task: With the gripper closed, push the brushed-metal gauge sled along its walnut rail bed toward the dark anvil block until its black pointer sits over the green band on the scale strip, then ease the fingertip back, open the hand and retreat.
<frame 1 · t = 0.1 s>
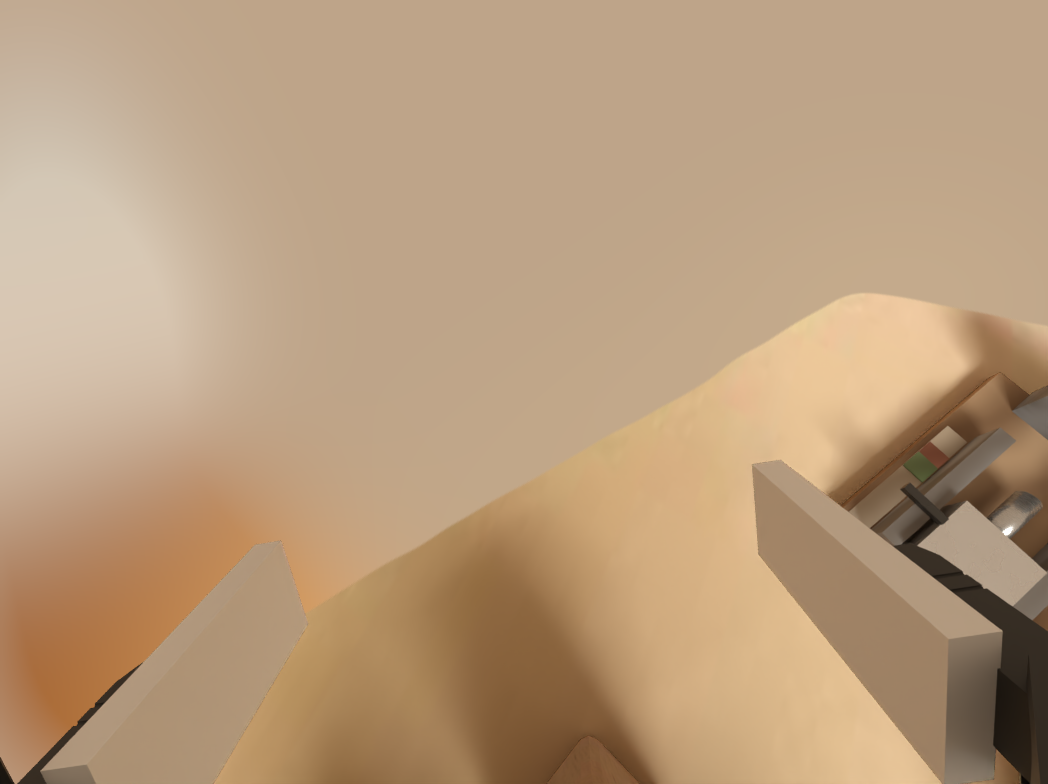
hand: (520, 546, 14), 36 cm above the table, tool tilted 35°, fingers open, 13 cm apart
gauge sled: (965, 522, 42), point 4 cm above the table, slide at 0.0 cm
gauge bed: (979, 521, 46), on the table
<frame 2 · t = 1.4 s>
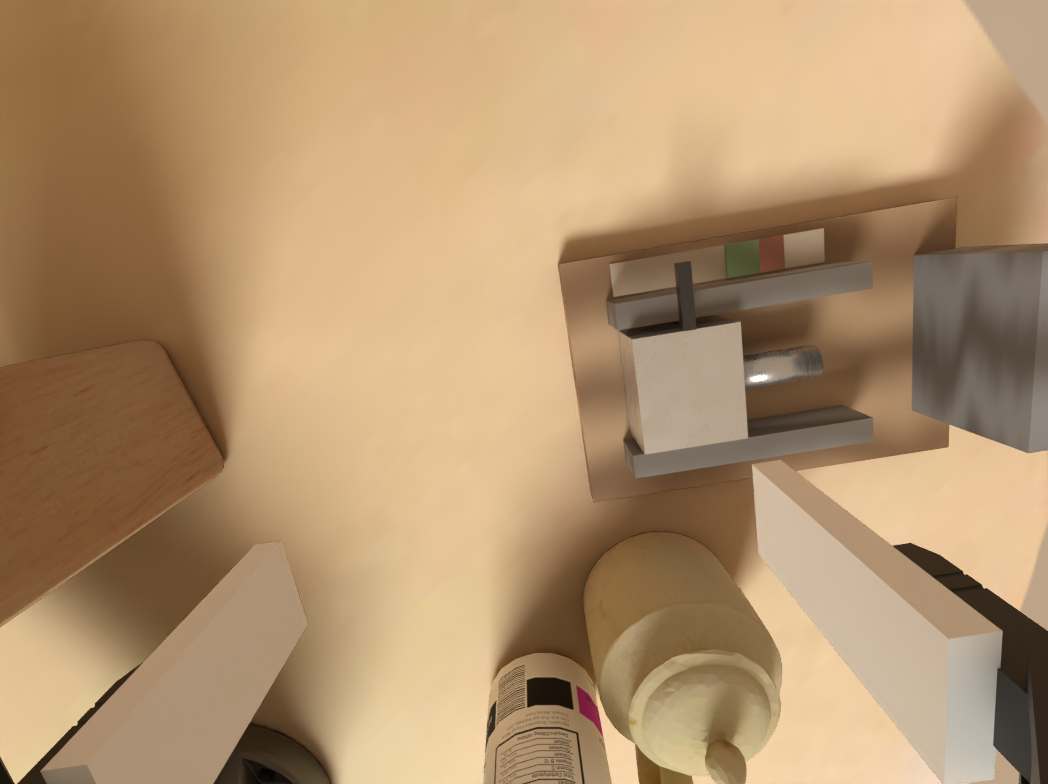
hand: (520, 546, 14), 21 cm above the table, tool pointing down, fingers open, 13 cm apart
gauge sled: (722, 346, 30), point 4 cm above the table, slide at 0.0 cm
block: (137, 426, 35), on the table
supplement can: (541, 688, 41), on the table
gauge bed: (752, 355, 35), on the table
sugar bowl: (661, 614, 39), on the table
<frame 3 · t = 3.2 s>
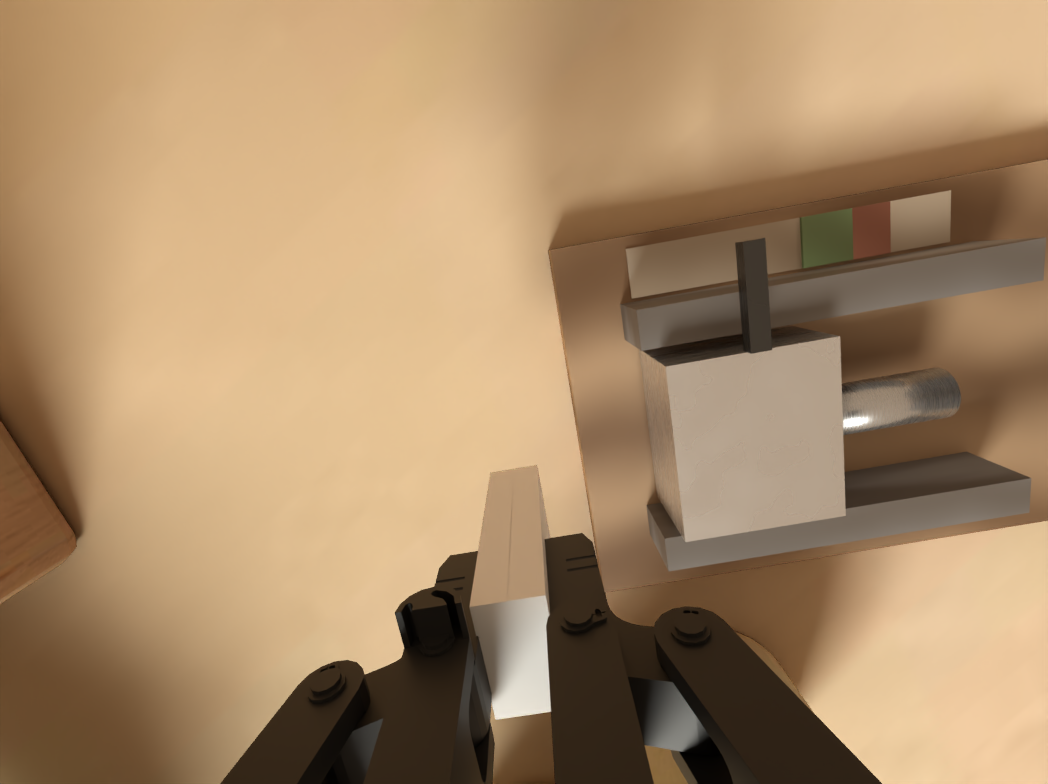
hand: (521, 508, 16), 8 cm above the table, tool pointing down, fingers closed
gauge sled: (801, 372, 20), point 4 cm above the table, slide at 0.0 cm
gauge bed: (832, 381, 24), on the table
sugar bowl: (697, 732, 29), on the table
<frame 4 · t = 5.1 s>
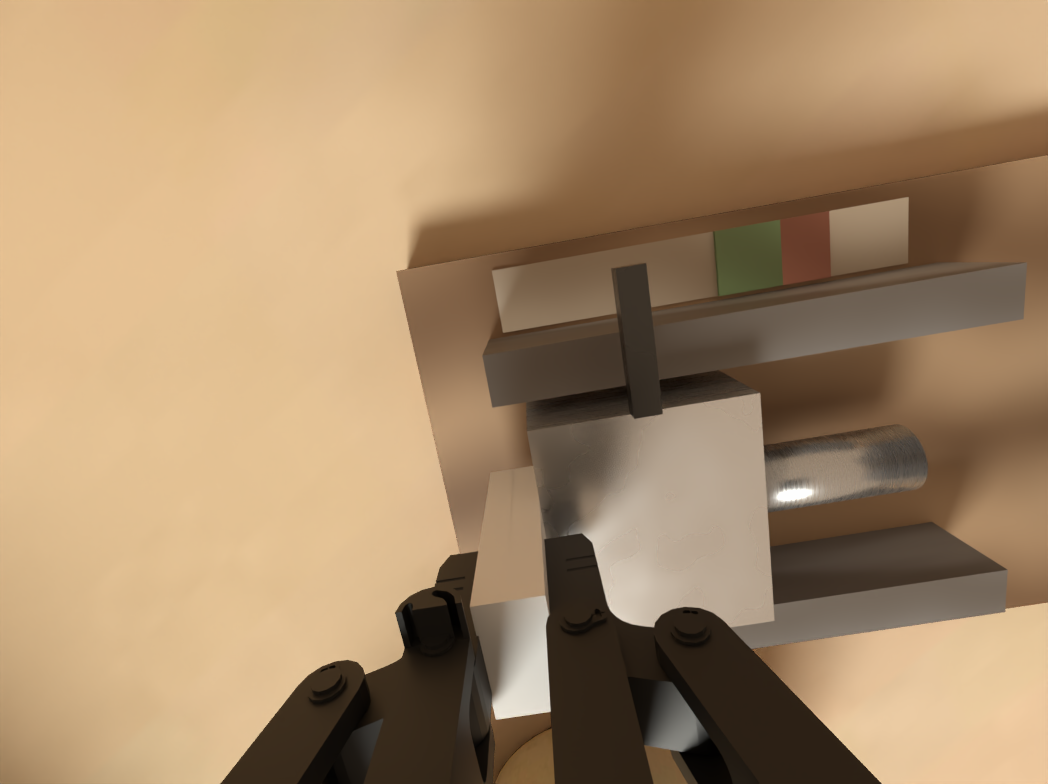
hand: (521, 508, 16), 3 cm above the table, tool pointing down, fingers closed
gauge sled: (720, 432, 15), point 4 cm above the table, slide at 0.4 cm, touching gripper
gauge bed: (767, 431, 19), on the table
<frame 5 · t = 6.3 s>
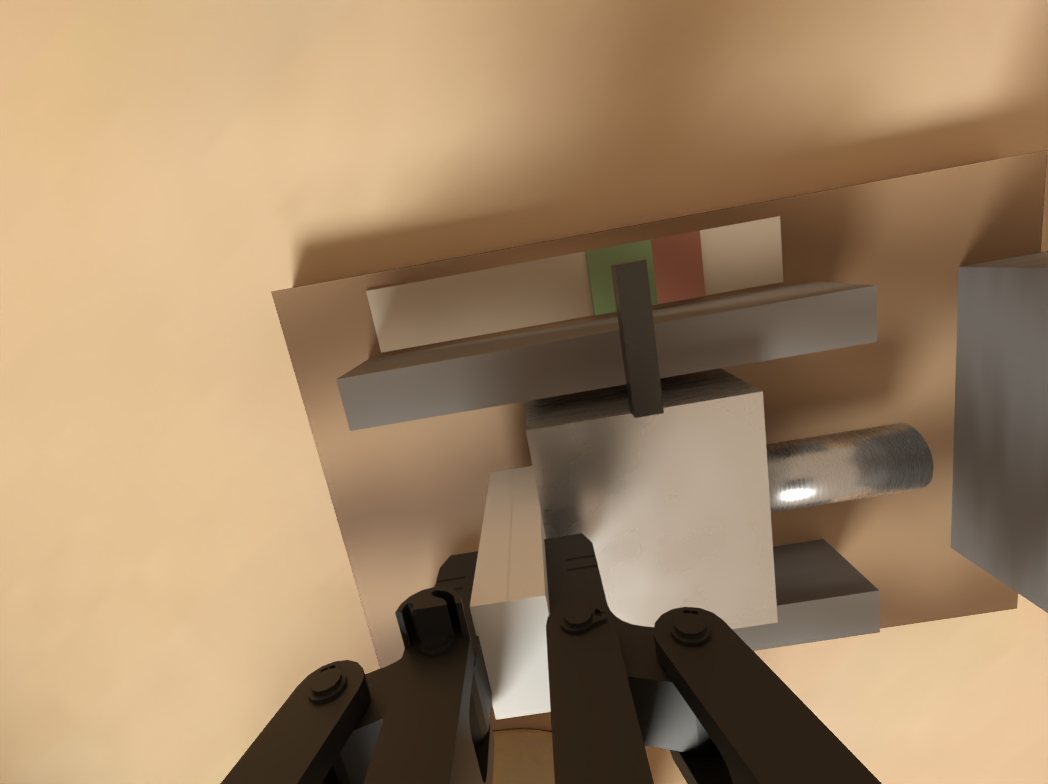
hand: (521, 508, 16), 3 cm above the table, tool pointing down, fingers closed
gauge sled: (723, 431, 15), point 4 cm above the table, slide at 4.4 cm, touching gripper
gauge bed: (662, 447, 19), on the table
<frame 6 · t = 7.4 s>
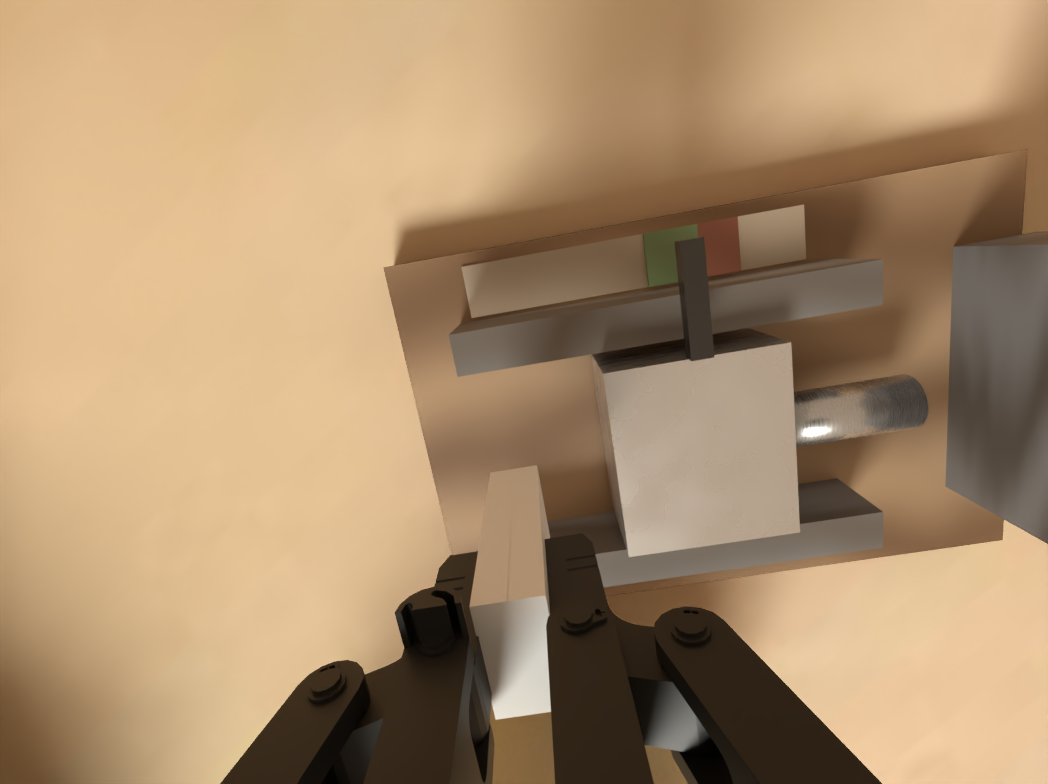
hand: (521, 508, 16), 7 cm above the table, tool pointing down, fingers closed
gauge sled: (756, 379, 18), point 4 cm above the table, slide at 4.4 cm
gauge bed: (700, 401, 23), on the table
sugar bowl: (582, 753, 28), on the table
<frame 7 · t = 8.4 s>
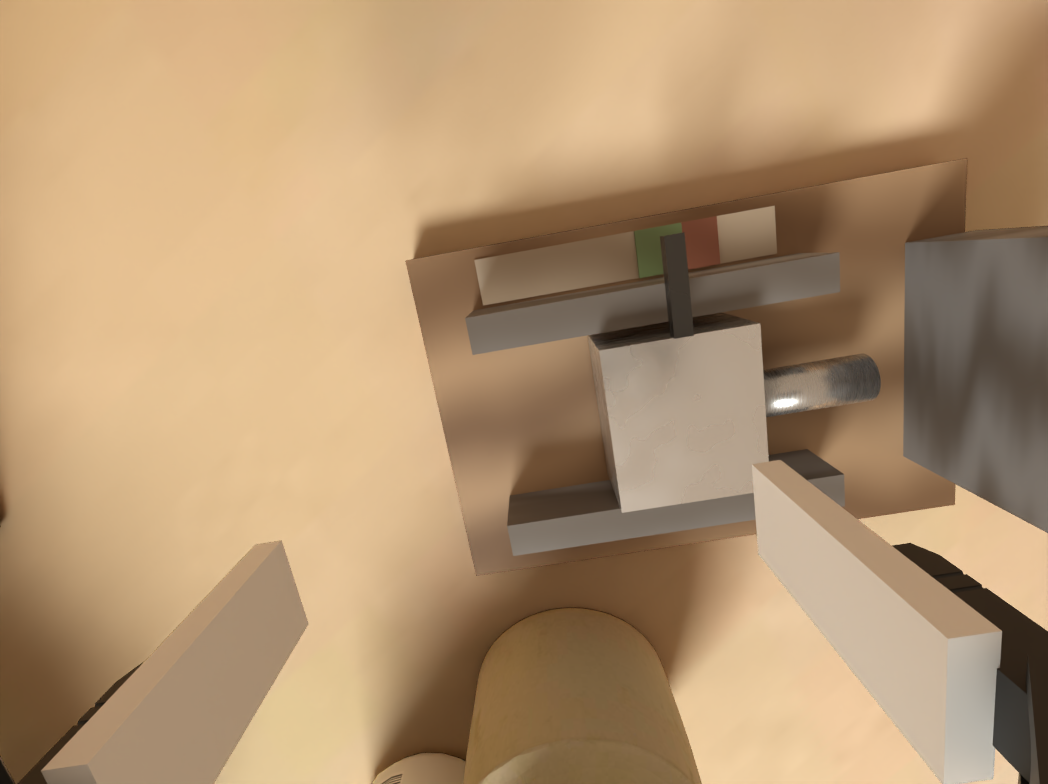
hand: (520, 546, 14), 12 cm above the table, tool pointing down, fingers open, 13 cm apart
gauge sled: (732, 357, 21), point 4 cm above the table, slide at 4.4 cm
gauge bed: (685, 381, 26), on the table
sugar bowl: (580, 707, 31), on the table
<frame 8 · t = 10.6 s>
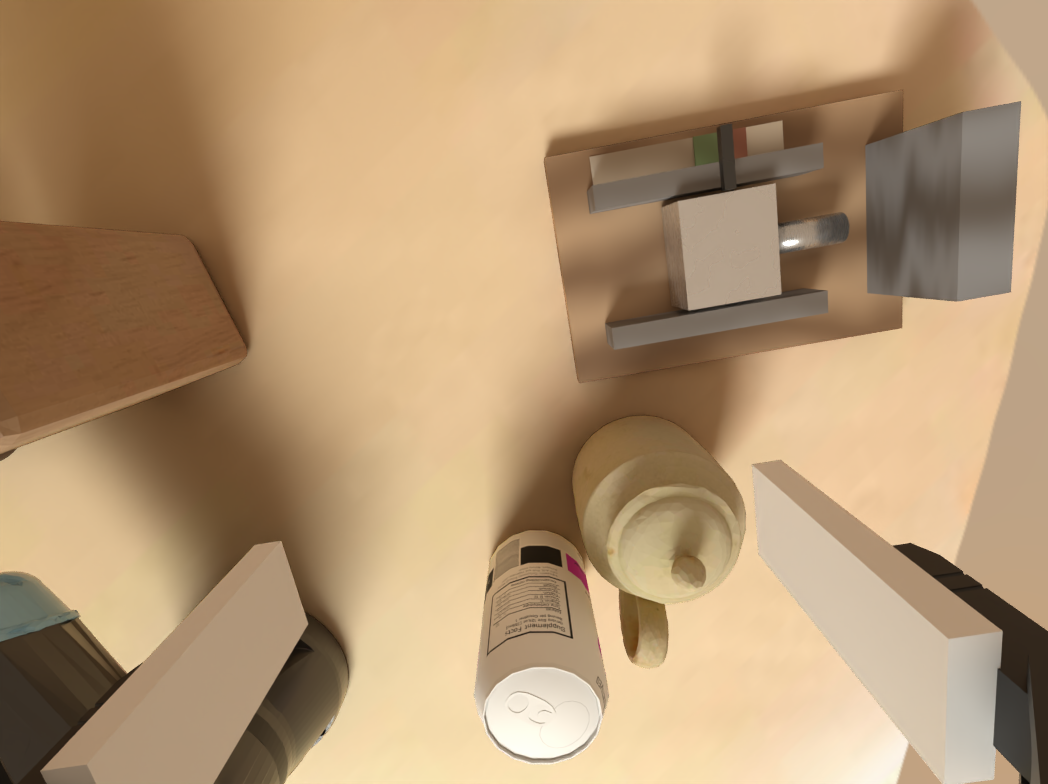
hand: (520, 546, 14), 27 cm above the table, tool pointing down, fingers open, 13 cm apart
gauge sled: (757, 213, 34), point 4 cm above the table, slide at 4.4 cm
block: (169, 318, 40), on the table
supplement can: (536, 567, 45), on the table
gauge bed: (722, 246, 38), on the table
sugar bowl: (643, 496, 43), on the table
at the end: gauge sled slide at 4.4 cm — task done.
